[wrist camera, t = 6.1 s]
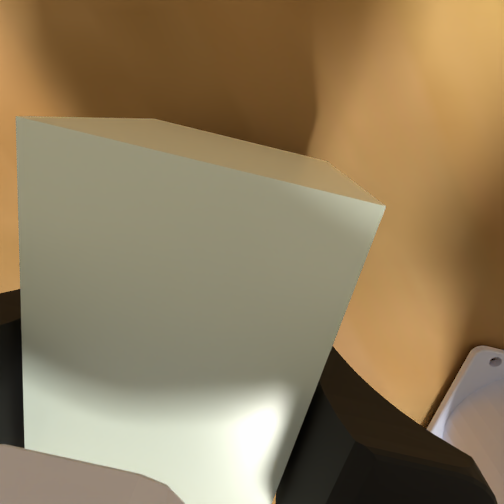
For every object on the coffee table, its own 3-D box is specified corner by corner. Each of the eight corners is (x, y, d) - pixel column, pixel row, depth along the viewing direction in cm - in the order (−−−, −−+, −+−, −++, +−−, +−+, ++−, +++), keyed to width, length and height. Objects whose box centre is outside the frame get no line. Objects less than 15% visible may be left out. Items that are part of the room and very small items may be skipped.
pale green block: (327, 161, 12) (386, 206, 5) (251, 410, 16) (236, 595, 10) (154, 118, 11) (15, 116, 5) (124, 382, 16) (27, 551, 10)
